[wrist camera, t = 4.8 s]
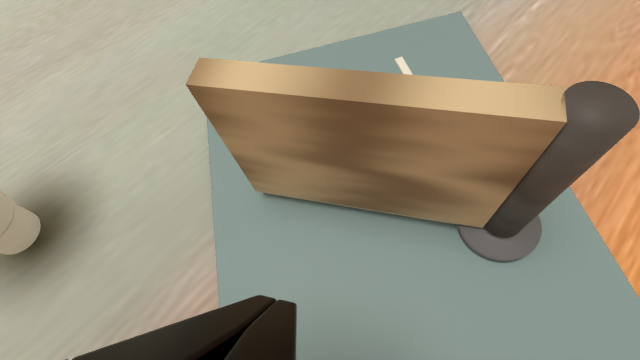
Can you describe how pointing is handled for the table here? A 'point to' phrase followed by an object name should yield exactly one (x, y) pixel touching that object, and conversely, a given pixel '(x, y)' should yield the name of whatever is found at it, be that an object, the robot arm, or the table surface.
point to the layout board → (420, 250)
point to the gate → (411, 138)
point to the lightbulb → (16, 226)
